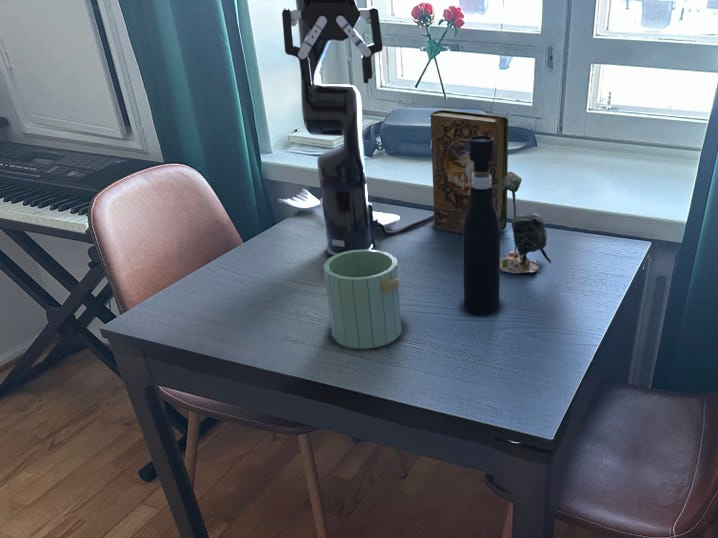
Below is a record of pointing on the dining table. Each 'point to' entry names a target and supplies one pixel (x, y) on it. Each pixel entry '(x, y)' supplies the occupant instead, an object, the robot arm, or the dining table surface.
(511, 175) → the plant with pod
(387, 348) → the dining table surface
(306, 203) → the serving fork
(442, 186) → the book
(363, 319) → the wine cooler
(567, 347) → the dining table surface
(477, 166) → the wine bottle
